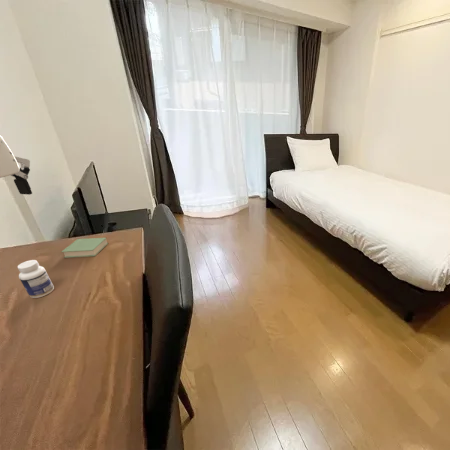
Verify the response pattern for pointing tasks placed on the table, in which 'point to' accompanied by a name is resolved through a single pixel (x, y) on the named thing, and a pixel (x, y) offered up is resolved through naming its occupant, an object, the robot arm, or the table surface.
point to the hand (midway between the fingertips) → (6, 200)
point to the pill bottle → (35, 279)
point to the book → (85, 247)
